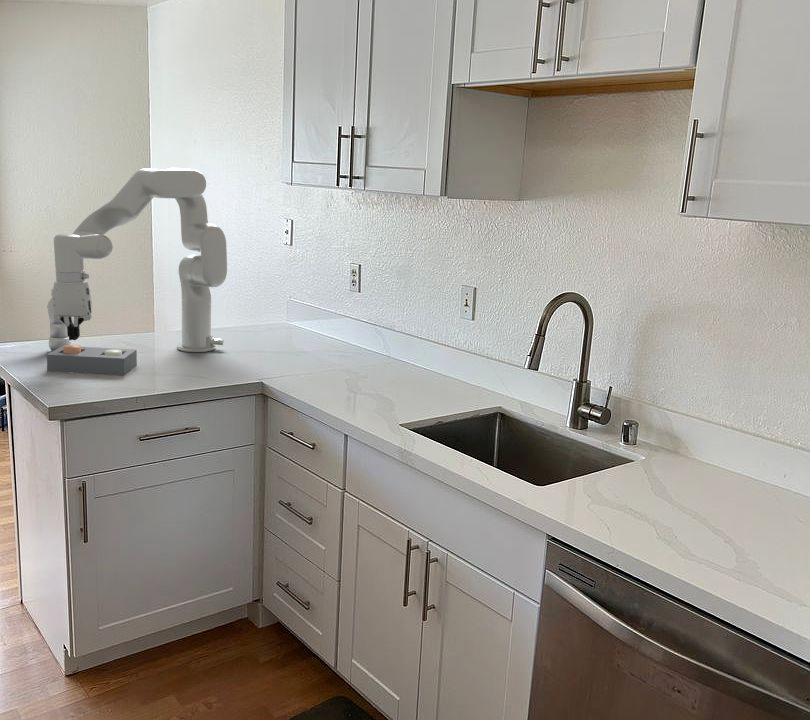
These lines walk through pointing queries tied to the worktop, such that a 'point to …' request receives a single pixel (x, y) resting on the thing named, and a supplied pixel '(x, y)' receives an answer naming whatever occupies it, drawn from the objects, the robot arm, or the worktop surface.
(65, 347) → the terracotta button
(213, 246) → the robot arm
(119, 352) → the ivory button
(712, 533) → the worktop surface
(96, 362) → the grey two-hole block
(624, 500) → the worktop surface
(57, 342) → the plastic bottle
